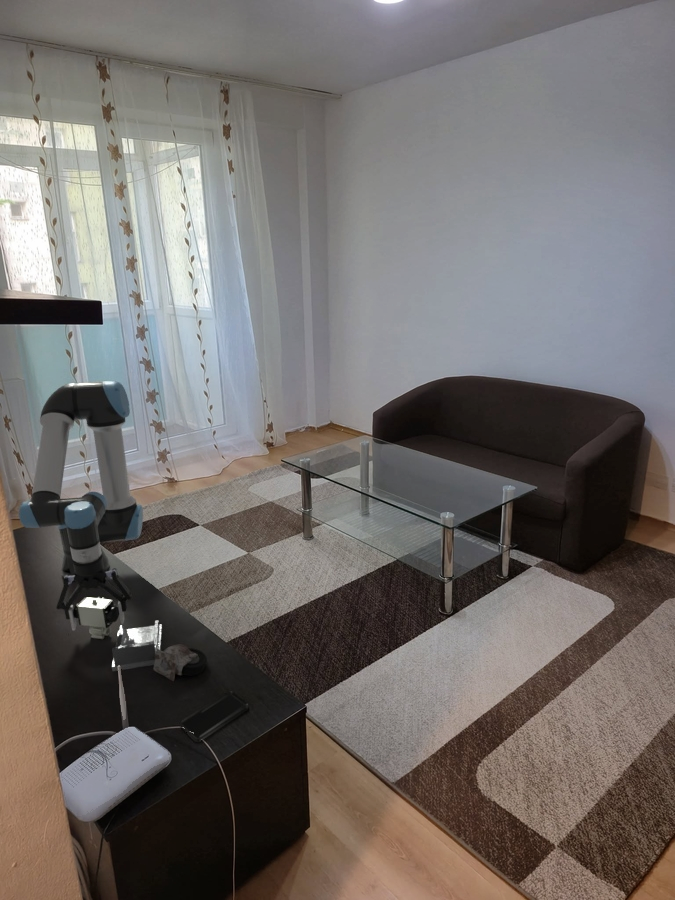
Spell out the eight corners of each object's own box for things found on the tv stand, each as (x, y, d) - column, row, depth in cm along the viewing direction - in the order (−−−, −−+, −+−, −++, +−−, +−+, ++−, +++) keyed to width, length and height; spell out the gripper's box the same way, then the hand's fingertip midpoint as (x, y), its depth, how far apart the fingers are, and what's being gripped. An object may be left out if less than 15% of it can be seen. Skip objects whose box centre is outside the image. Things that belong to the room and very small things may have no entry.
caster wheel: (210, 671, 165) (186, 690, 156) (176, 653, 169) (151, 671, 160) (214, 650, 163) (191, 668, 154) (180, 632, 167) (155, 649, 158)
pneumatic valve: (114, 642, 173) (108, 606, 169) (77, 638, 176) (70, 602, 172) (124, 631, 179) (119, 595, 175) (88, 626, 181) (81, 591, 177)
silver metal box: (119, 635, 177) (115, 615, 175) (162, 628, 179) (159, 609, 177) (112, 671, 162) (109, 650, 160) (159, 663, 164) (156, 643, 162)
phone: (250, 705, 148) (196, 740, 138) (250, 709, 149) (197, 744, 138) (230, 689, 153) (177, 722, 143) (230, 693, 154) (178, 726, 144)
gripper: (36, 570, 163) (50, 638, 170) (132, 558, 168) (142, 625, 175) (42, 556, 170) (55, 622, 177) (135, 545, 175) (144, 610, 182)
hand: (98, 624), depth 176 cm, fingers closed on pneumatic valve, 12 cm apart
